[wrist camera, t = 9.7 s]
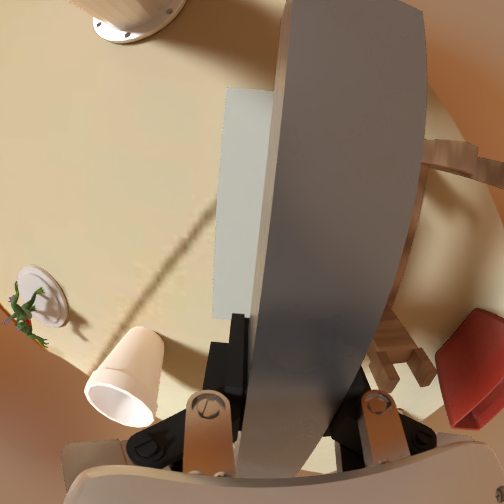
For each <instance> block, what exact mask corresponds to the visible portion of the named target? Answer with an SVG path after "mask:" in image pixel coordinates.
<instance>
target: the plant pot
mask: <svg viewBox="0 0 504 504" xmlns="http://www.w3.org/2000/svg"><path fill="white" fill-rule="evenodd" d="M435 361H436V368H437V372H438V373H437V374H438V379H439V384H440V389H441V393H442V397H443V401H444V405H445V408H446V411H447V416H448V419H449V422H450V425H451V428H453V429H464V430H475V431H477V430H480V429H481V428H482V427H483V426H485V425H486V424H487V423H488V422H489V421H490V420H491V419H492V418H493V417H495V416H496V415H497V414H498V413H499V412H500V411H501V410H502V409H503V408H504V318H502V317H500V316H497V315H495V314H493V313H490V312H488V311H485V310H482V309H478V308H476V309H474V310H473V311H472V313H471V314H470V315H469V316H468V318H467V319H466V320H465V321H464V322H463V324H462V325H461V326H460V327H459V329H458V330H457V331H456V332H455V333H454V334H453V335H452V337H451V338H450V339H449V340H448V341H447V342H446V343H445V344H444V345H443V347H442V348H441V349H440V350H439V351H438V352H437V353H436V355H435Z"/></svg>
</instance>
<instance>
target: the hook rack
mask: <svg viewBox="0 0 504 504" xmlns="http://www.w3.org/2000/svg"><path fill="white" fill-rule="evenodd" d="M477 153H478V147H476V146H474V145H472V144H470V143H468V142H460V141H450V140H439V139H435V141H433V140H426V139H424V144H423V153H422V161H421V168H420V174H419V180H418V186H417V192H416V197H415V202H414V207H413V212H412V216H411V221H410V225H409V229H408V233H407V237H406V241H405V245H404V249H403V252H402V256H401V259H400V263H399V266H398V270H397V273H396V276H395V279H394V282H393V285H392V288H391V291H390V294H389V297H388V300H387V303H386V306H385V308H384V311H383V314H382V316H381V319H380V322H379V324H378V327H377V329H376V332H375V334H374V336H373V339H372V341H371V344H370V346H369V348H368V350H367V354H368V356H369V358H370V361H371V362H370V364H369V368H370V370H371V372H372V374H373V377H374V379H375V381H376V383H377V386H378V388H379V390H381V391H384V392H386V393H392V391H393V389H394V388H395V386H396V385H397V383H398V381H399V380H400V378H399V376H398V374H397V372H396V370H395V368H394V366H393V364H395V363H404V362H407V364H408V366H409V368H410V369H411V371H412V373H413V375H414V376H415V378H416V380H417V382H418V383H419V385H420V387H425V386H429V385H430V383H431V382H432V380H433V379H434V377H435V376H436V374H437V373H438V372H437V370H436V369H435V367H434V366H433V364H432V362H431V361H430V359H429V358H428V356H427V355H426V353H425V352H424V350H423V349H422V348H418V347H417V345H416V344H415V342H414V341H413V339H412V338H411V336H410V335H409V334H408V332H407V331H406V329H405V328H404V326H403V325H402V324H401V322H400V321H399V319H398V318H397V317H396V315H395V314H394V312H393V311H392V310H391V307H392V304H393V302H394V299H395V296H396V293H397V291H398V288H399V285H400V282H401V279H402V276H403V273H404V269H405V266H406V263H407V260H408V256H409V253H410V249H411V246H412V242H413V238H414V234H415V230H416V226H417V222H418V218H419V214H420V209H421V204H422V199H423V194H424V189H425V184H426V178H427V171H428V168H432V169H437V170H441V171H445V172H449V173H453V174H456V175H460V176H464V177H467V178H471V179H474V180H477V181H479V182H483V183H486V184H489V185H492V186H496V187H498V188H501V189H504V163H503V162H499V161H494V160H490V159H485V158H480V157H477Z"/></svg>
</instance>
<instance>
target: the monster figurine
mask: <svg viewBox="0 0 504 504" xmlns="http://www.w3.org/2000/svg"><path fill="white" fill-rule="evenodd" d="M17 282H18V285H16V284H17ZM17 286H18V287H17ZM18 289H19V291H18ZM15 291H16V295H13V296H12V297H10V298H9V299H10V301H8V302H11V307H12V308H13V310H14V312H15V313H14V314H13V315H12V316H10V317H9V318H7V319H6V320H5V321H4V322H3V323H6V325H7V324H8V323H9V322H10V321H11V319H13V318H16V317H17V320H16V321H17V322H16V323H17V325H16V324H15V325H16V326H17V328H16V330H21V331H22V332H25V334H26V336H28V337H29V338H32V339H37V340H38V341H39V343H40V344H41V346H42V345H43V346H44V344H49V343H45V342H44V340H48V339H43V338H41V337H39V336H36V335H35V334H33V333H32V325H31V320H30V319H31V318H32V315H33V317H35V318H36V319H37V320H38V321H39V322H41V323H42V324H44V325H46V326H48V327H52V328H57V327H60V326H61V325H62V324H63V323H64V322H65V321H66V318H67V315H68V308H67V303H66V299H65V297H64V294H63V292H62V290H61V288H60V287H59V285H58V284H57V282H56V281H55V279H54V278H53V277H52V276H51V275H50V274H49V273H48V272H47V271H46V270H44V269H43V268H41V267H39V266H37V265H27V266H25V267H24V268H23V269H21V271H20V272H19V275H18V281H16V282H15ZM19 293H20V296H21V299H22V301H23V303H24V305H23V306H22V307H20V306H19V305H18V304H16V303H17V301H18V297H19ZM44 347H46V346H44ZM46 348H48V347H46Z"/></svg>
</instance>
